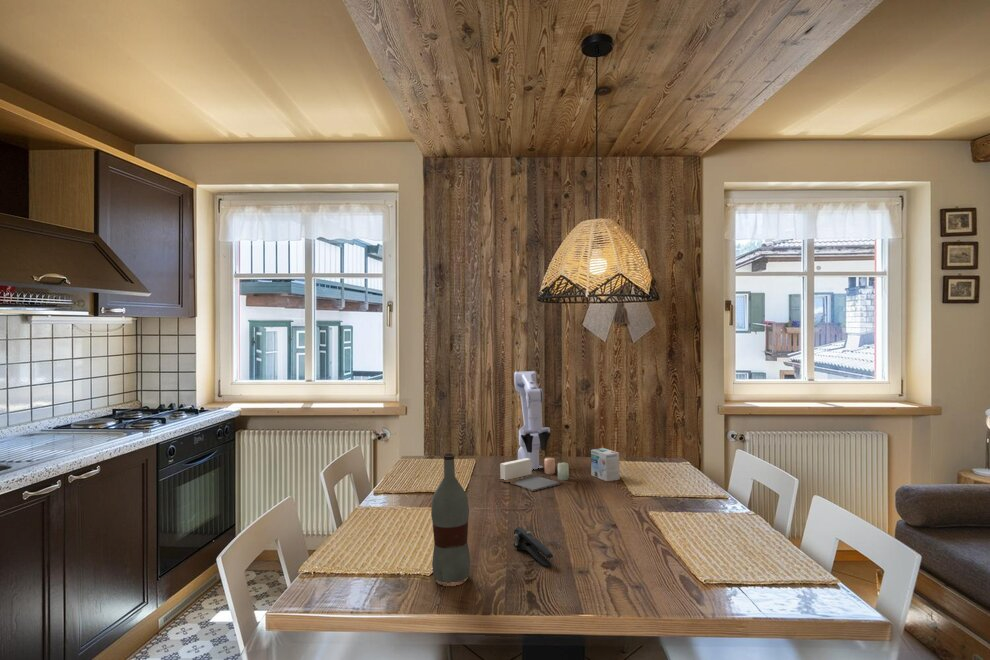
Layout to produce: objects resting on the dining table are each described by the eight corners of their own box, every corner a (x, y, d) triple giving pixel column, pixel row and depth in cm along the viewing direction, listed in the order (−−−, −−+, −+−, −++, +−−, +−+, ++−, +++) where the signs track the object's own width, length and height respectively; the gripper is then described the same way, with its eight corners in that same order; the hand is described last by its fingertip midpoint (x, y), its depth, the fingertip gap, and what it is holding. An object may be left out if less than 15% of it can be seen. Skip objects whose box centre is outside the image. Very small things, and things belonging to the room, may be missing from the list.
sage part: (555, 478, 211) (555, 463, 211) (563, 476, 213) (562, 462, 214) (563, 480, 207) (562, 465, 207) (571, 478, 210) (570, 464, 210)
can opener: (507, 546, 145) (507, 525, 145) (530, 541, 148) (529, 521, 148) (537, 572, 129) (537, 549, 129) (562, 566, 131) (561, 544, 132)
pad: (509, 483, 205) (509, 481, 205) (535, 477, 213) (535, 475, 213) (532, 491, 194) (532, 489, 194) (559, 484, 202) (559, 482, 202)
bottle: (451, 566, 132) (449, 448, 132) (478, 576, 126) (475, 453, 127) (424, 580, 125) (421, 455, 125) (451, 592, 119) (448, 461, 119)
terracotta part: (542, 472, 220) (542, 458, 220) (550, 471, 223) (549, 457, 223) (549, 474, 216) (549, 460, 217) (557, 473, 219) (556, 458, 219)
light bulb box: (590, 475, 214) (590, 449, 215) (604, 473, 217) (603, 447, 217) (606, 481, 205) (606, 454, 205) (620, 479, 208) (619, 452, 208)
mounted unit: (498, 480, 209) (498, 463, 209) (526, 474, 218) (526, 457, 218) (505, 483, 206) (504, 465, 206) (533, 476, 215) (532, 459, 215)
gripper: (528, 419, 208) (529, 454, 206) (554, 417, 217) (555, 450, 215) (517, 419, 213) (518, 452, 212) (542, 416, 222) (544, 448, 221)
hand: (536, 451), depth 214 cm, fingers open, 7 cm apart
